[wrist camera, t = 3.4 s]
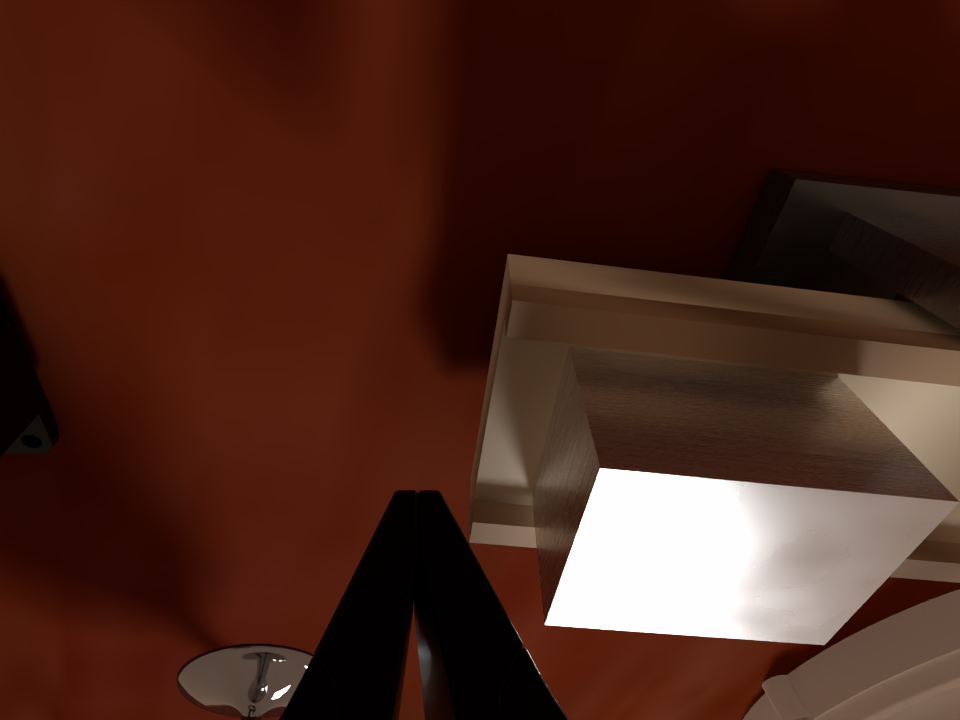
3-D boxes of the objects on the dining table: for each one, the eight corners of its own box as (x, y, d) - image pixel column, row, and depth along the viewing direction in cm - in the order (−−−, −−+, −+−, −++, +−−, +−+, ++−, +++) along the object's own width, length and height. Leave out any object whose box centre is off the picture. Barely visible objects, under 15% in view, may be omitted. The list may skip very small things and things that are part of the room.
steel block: (531, 492, 14) (544, 624, 11) (569, 347, 11) (600, 468, 8) (752, 512, 14) (824, 645, 11) (838, 376, 11) (959, 501, 8)
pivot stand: (642, 473, 19) (712, 617, 15) (771, 168, 13) (958, 255, 9) (787, 474, 20) (894, 610, 16) (970, 190, 14) (1231, 279, 10)
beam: (471, 458, 16) (469, 542, 14) (506, 239, 12) (513, 300, 10) (1174, 524, 18) (1291, 610, 15) (1407, 349, 14) (1616, 426, 11)
